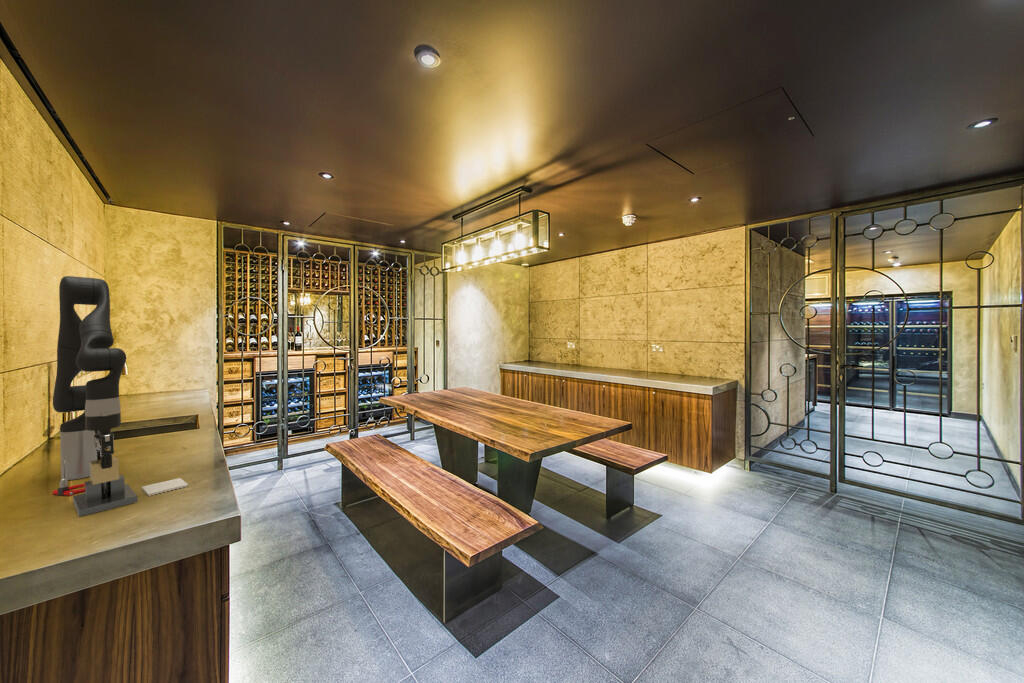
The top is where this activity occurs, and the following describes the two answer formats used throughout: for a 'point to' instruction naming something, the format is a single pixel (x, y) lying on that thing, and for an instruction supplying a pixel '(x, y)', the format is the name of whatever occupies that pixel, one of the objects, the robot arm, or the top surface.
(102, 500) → the gray base plate
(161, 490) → the pad
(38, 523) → the top surface
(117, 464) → the collar
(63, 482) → the tow hook
